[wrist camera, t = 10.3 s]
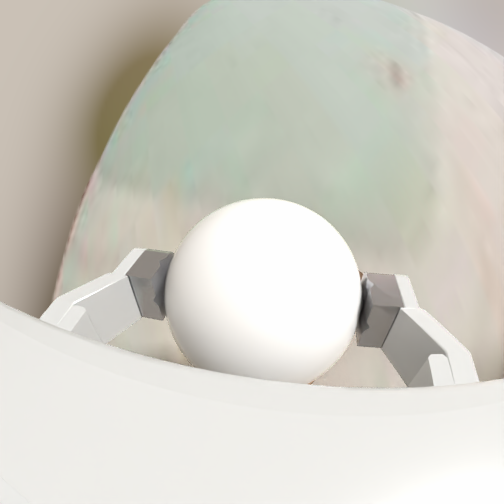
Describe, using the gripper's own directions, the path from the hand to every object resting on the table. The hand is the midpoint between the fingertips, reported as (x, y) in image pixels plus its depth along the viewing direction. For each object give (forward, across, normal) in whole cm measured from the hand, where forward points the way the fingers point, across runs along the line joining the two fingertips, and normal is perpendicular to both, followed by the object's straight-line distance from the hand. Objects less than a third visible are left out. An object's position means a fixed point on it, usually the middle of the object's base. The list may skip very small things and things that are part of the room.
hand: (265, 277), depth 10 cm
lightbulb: (+5, 0, +6) cm, 8 cm away
